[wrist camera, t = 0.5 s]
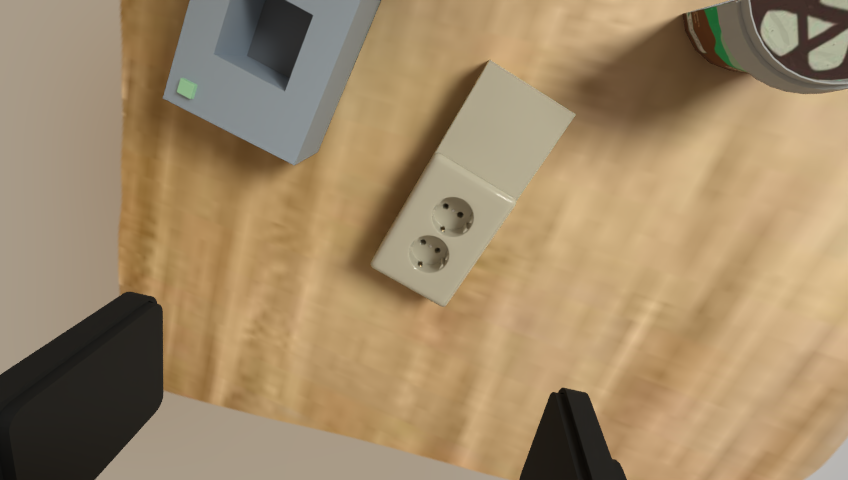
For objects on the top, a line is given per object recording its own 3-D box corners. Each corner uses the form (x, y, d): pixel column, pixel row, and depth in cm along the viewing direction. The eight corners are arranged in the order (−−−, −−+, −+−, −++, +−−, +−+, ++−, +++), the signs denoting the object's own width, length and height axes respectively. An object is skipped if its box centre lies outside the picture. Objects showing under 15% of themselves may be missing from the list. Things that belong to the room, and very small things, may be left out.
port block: (262, -93, 32) (220, -126, 27) (390, -22, 33) (374, -39, 28) (204, 93, 37) (159, 98, 32) (317, 152, 38) (292, 166, 33)
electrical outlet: (579, 115, 32) (444, 310, 38) (567, 110, 36) (446, 288, 42) (490, 59, 31) (367, 267, 37) (488, 60, 35) (377, 249, 41)
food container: (668, 107, 35) (742, 122, 25) (660, 20, 33) (736, 1, 23) (853, 61, 33) (1007, 58, 23) (856, -36, 31) (1025, -80, 21)
